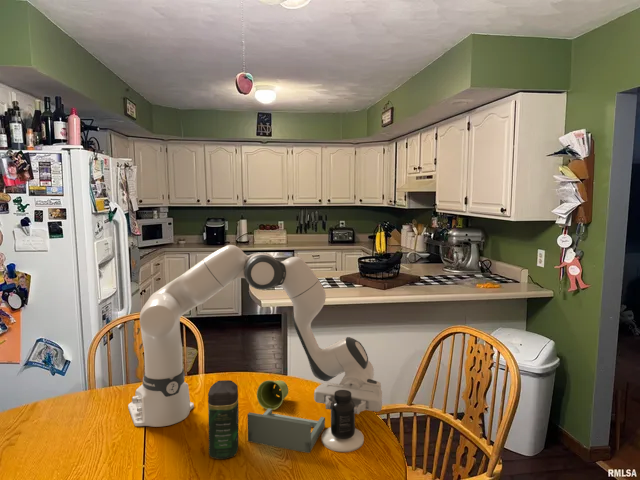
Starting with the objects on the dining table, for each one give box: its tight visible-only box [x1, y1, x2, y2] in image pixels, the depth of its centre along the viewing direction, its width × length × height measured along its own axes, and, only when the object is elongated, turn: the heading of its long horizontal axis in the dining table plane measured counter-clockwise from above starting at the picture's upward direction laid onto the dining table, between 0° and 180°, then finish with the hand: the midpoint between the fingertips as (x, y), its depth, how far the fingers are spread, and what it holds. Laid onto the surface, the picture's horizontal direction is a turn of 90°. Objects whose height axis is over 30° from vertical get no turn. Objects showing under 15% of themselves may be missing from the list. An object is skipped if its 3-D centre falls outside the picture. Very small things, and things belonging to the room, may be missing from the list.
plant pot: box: [256, 379, 289, 411], centre depth 147 cm, size 9×9×9 cm
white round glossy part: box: [320, 426, 365, 453], centre depth 126 cm, size 12×12×1 cm
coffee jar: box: [207, 379, 240, 460], centre depth 119 cm, size 10×8×19 cm
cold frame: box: [247, 408, 326, 454], centre depth 128 cm, size 14×18×8 cm
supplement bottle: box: [330, 390, 356, 439], centre depth 125 cm, size 7×7×12 cm
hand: (342, 409), depth 124 cm, fingers closed on supplement bottle, 7 cm apart
